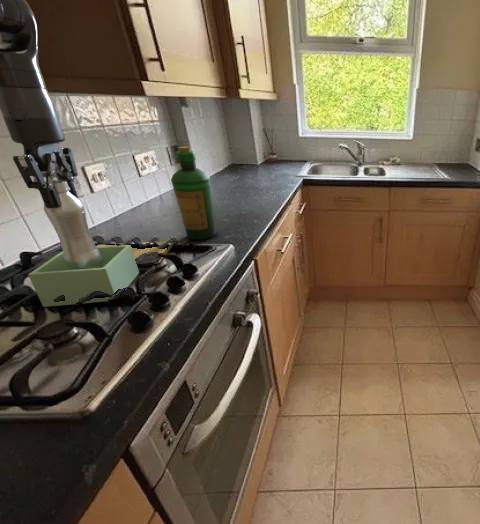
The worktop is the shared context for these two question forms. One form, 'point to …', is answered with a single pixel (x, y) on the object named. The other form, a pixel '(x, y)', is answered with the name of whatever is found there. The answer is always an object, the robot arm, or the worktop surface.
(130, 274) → the bin
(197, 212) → the bottle
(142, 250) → the board
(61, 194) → the plastic bottle
